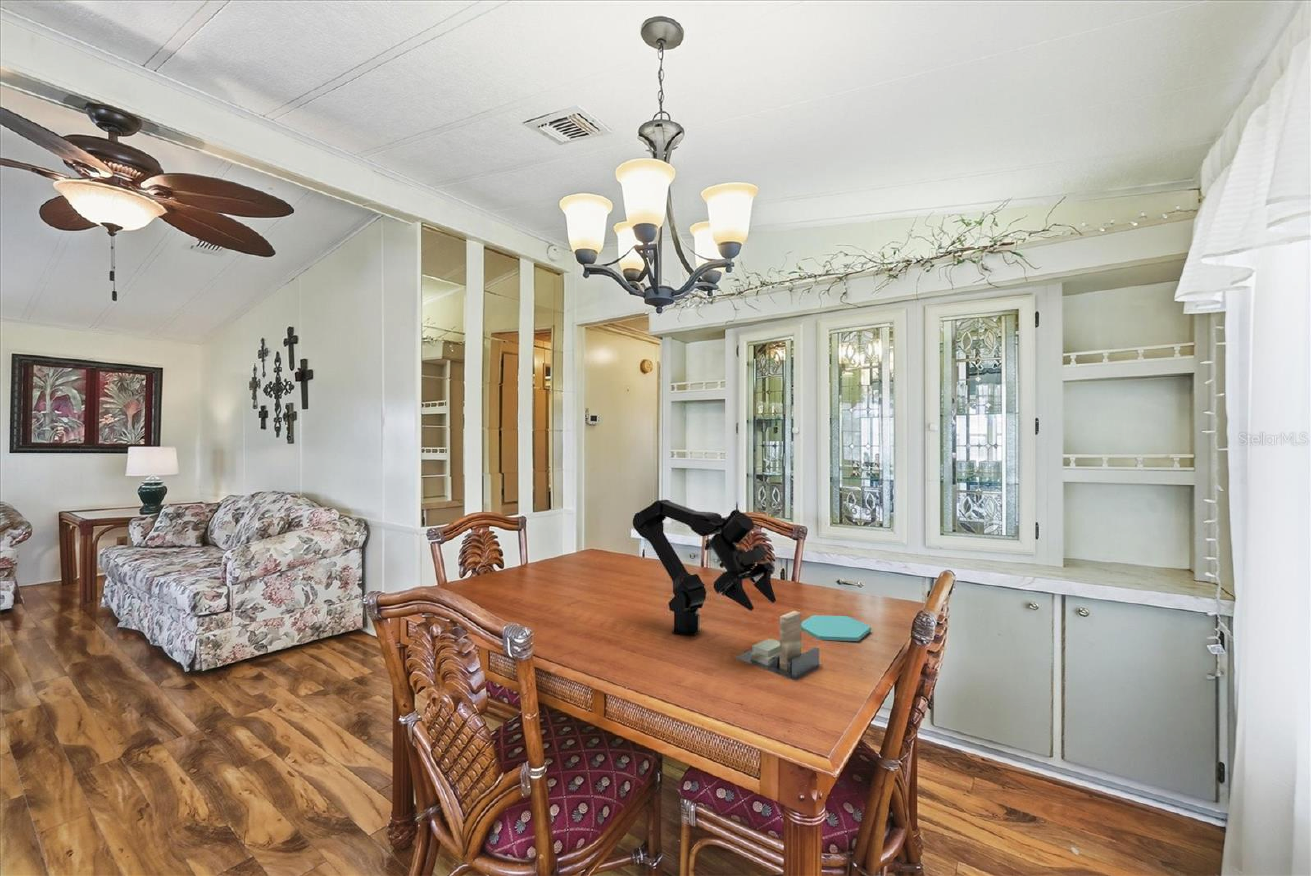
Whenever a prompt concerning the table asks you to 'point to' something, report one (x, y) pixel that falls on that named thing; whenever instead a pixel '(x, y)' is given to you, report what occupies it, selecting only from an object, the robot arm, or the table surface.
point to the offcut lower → (763, 658)
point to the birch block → (790, 637)
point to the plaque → (835, 628)
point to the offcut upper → (767, 647)
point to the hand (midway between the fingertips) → (763, 605)
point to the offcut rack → (789, 664)
